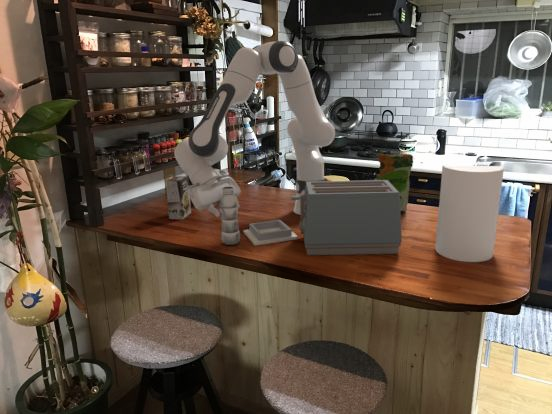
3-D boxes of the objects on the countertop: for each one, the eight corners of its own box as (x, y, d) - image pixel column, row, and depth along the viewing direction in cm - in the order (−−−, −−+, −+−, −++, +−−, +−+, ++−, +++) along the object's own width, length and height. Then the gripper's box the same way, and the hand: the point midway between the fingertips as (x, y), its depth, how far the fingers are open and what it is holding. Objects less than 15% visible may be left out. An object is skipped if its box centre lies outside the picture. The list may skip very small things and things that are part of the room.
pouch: (412, 213, 185) (416, 152, 178) (389, 218, 180) (392, 155, 173) (394, 206, 195) (397, 148, 187) (371, 211, 190) (374, 151, 182)
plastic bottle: (233, 248, 154) (230, 191, 148) (217, 244, 157) (214, 188, 152) (244, 242, 159) (241, 186, 153) (229, 239, 163) (226, 184, 157)
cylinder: (500, 263, 137) (511, 172, 129) (439, 260, 140) (447, 171, 132) (485, 242, 153) (494, 160, 145) (431, 240, 156) (438, 160, 148)
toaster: (291, 236, 164) (290, 181, 158) (387, 234, 164) (390, 178, 158) (292, 257, 146) (291, 195, 140) (401, 255, 145) (405, 193, 139)
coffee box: (183, 219, 185) (180, 181, 180) (168, 219, 186) (164, 180, 182) (191, 213, 193) (188, 175, 189) (177, 212, 195) (174, 175, 190)
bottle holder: (284, 226, 174) (284, 218, 173) (298, 239, 161) (297, 229, 160) (243, 232, 169) (243, 223, 168) (254, 245, 156) (254, 236, 155)
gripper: (188, 181, 148) (212, 214, 145) (229, 169, 164) (252, 199, 161) (179, 192, 152) (203, 225, 149) (221, 180, 167) (243, 209, 165)
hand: (229, 212), depth 155 cm, fingers open, 8 cm apart
